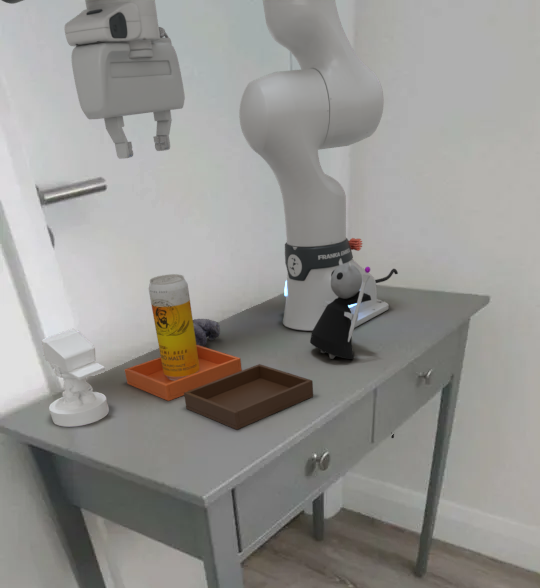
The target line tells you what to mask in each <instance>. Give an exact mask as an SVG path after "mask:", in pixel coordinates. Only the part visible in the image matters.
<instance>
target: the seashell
mask: <svg viewBox="0 0 540 588" xmlns="http://www.w3.org/2000/svg"><path fill="white" fill-rule="evenodd" d="M193 325H194V332H195V339H196V345H199V346H203V347H206V345H207V340H210V341H214V340H216V339H218V338H219V337H220V334H221V326H220V324H219V323H218V322H217V321H215V320H212V319H209V318H193ZM207 338H208V339H207Z"/></svg>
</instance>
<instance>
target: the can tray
mask: <svg viewBox="0 0 540 588" xmlns="http://www.w3.org/2000/svg"><path fill="white" fill-rule="evenodd" d="M196 346H197V353H198V360H199V367H200V369H199V371H198V372H197V373H195V374H192V375H189V376H186V377H184V378H181V379H178V380H175V381H173V380H170V379H168V377H167V376H166V375H165V374H164V372H163V367H162V361H161V356H159V357H155V358H154V359H151V360H148V361H145V362H141V363H139V364H136V365H133V366H130V367H127V368H124V375H125V378H126V383H127V385H129V386H131V387H134V388H136V389H138V390H141V391H143V392H147V393H148V394H151V395H153V396H155V397H158V398H160V399H162V400H165V401H167V402H169V401H172V400H175V399H179V398H180V397H183V396H184V393H185V392H187V391H190V390H192V389H195V388H198V387H200V386H203V385H205V384H208V383H211V382H213V381H216V380H219V379H221V378H224V377H227V376H229V375H232V374H235V373H237V372H240V371H243V369H242V360H241V357H238V356H235V355H232V354H228V353H225V352H221V351H218V350H215V349H212V348H208V347H206V346H204V347H203V346H199V345H196Z"/></svg>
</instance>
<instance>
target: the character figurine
mask: <svg viewBox="0 0 540 588" xmlns="http://www.w3.org/2000/svg"><path fill="white" fill-rule="evenodd" d="M41 346H42V351H43V357H44V360H45V361H46V362H47V363H48V364H49V366H50V367H51V370H54V374H55V376H57V377H58V378H60V379H63V389H64V391H62V396H61V397H60V398H57V399H55V400H54V401H53V402H51V403H50V404H49V407H48V410H49V413H50V416H51V419H52V423H54V424H55V425H56V426H59V427H65V428H68V427H70V428H71V427H81V426H85V425H86V426H87V425H89V424H93V423H96V422H98V421H100V420H102V419H103V418H105V417H106V416H107V415H108V414H109V413H110V407H109V403H108V400H107V399H108V398H107V396H106V395H105V394H103V393H101V392H97V391H93V390H94V389H93V386H92V385H91V384H90V383H89V382H88V381H87V378H88V377H91V376H93V375H96V374H99V373H101V372H103V371H105V370H106V366H104V365H102V364H101V363H99V362H96V359H97V357H96V347H95V345H94V344H93V343H92V342H91V341H90V340H89V339H88V338H87V337H86V336H85V334H83V333H82V332H81V331H80V330H77V329H76V328H70V329H67V330H64V331H61V332H59V333H56V334H53V335H50V336H47V337H44V338H43V339H41Z"/></svg>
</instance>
